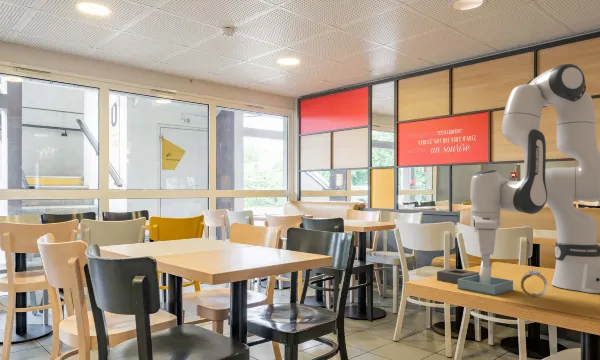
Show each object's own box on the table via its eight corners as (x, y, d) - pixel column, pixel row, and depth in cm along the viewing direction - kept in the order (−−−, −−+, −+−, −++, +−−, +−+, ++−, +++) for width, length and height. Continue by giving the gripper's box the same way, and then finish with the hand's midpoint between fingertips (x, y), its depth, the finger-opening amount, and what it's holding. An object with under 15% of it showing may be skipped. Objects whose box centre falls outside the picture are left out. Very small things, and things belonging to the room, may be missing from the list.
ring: (546, 297, 132) (546, 269, 132) (548, 299, 129) (548, 271, 129) (520, 294, 134) (520, 268, 134) (521, 297, 131) (521, 269, 131)
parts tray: (476, 283, 150) (476, 274, 150) (513, 290, 141) (513, 280, 141) (457, 288, 142) (457, 279, 142) (494, 295, 133) (494, 285, 133)
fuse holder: (452, 276, 162) (452, 268, 162) (479, 281, 154) (479, 272, 154) (437, 280, 155) (437, 271, 155) (463, 284, 148) (463, 275, 148)
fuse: (488, 286, 143) (489, 261, 143) (491, 288, 140) (493, 263, 140) (477, 285, 143) (479, 260, 143) (481, 288, 140) (482, 262, 140)
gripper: (473, 219, 153) (473, 259, 152) (475, 223, 133) (475, 269, 133) (493, 219, 150) (493, 260, 150) (498, 223, 131) (498, 271, 131)
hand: (485, 265), depth 141 cm, fingers open, 6 cm apart
